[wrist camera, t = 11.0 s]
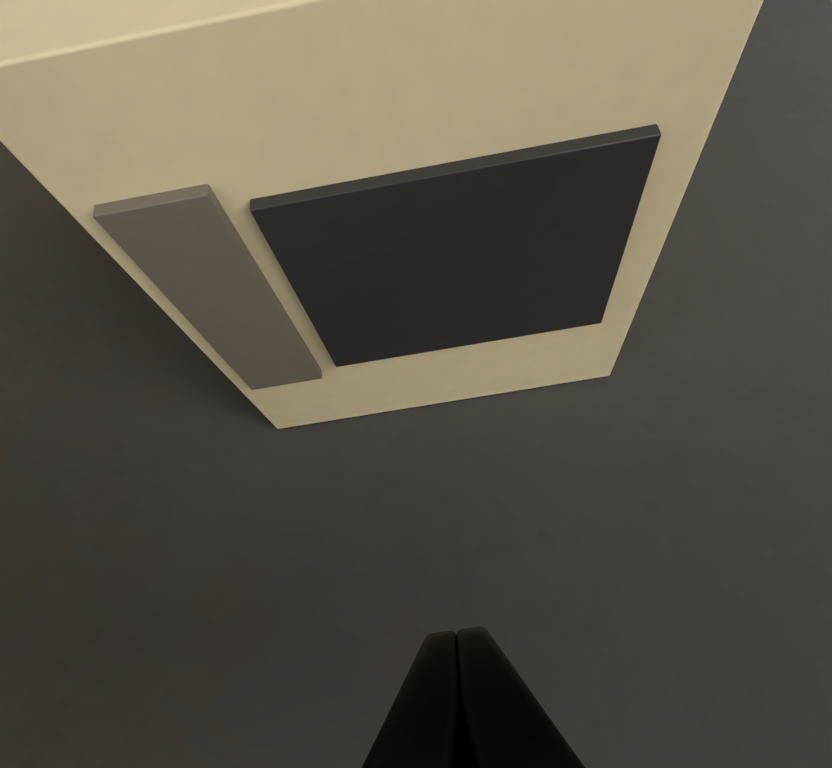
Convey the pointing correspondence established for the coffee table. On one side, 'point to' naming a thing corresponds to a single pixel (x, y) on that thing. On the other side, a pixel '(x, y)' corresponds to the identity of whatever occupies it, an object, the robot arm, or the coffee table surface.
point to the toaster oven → (375, 177)
